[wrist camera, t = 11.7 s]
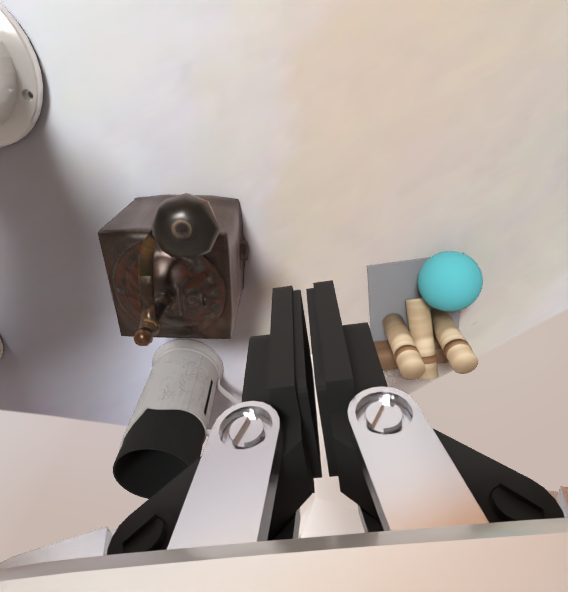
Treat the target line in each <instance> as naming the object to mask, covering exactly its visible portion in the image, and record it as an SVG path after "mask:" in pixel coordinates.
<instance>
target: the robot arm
mask: <svg viewBox="0 0 568 592" xmlns="http://www.w3.org/2000/svg"><path fill="white" fill-rule="evenodd" d="M31 93H32V94H33V97H32V95H31ZM42 103H43V82H42V75H41V70H40V67H39V63H38V60H37V57H36V54H35V52H34V50H33V48H32V46H31V44H30V42H29V40H28V38H27V36H26V34H25V33H24V31H23V30H22V28H21V27H20V25H19V24H18V22H17V21H16V20H15V19H14V17H13V16H12V15H11V14H10V13H9V12H8V11H7V9H6V8H5V7H4V6H3V5H2V4H1V3H0V147H4V146H7V145H10V144H13V143H15V142H17V141H19V140H20V139H22V138H23V137H25V136H26V135H27V134H28V133H29V132H30V131H31V129H32V128H33V127H34V126H35V124H36V122H37V120H38V118H39V116H40V112H41V108H42ZM313 284H314V288H310V289H306V291H307V302H308V313H309V324H310V335H311V346H312V357H313V368H314V377H313V368H312V361H311V355H310V348H309V342H308V335H307V329H306V322H305V316H304V310H303V303H302V297H301V291H300V290H295V291H293V287H292V286H287V287H280V288H273V293H272V311H271V329H270V335H262V336H254V337H250V340H249V347H248V355H247V363H246V370H245V378H244V386H243V394H242V402H241V403H239V404H236V405H233V406H232V407H230V408H228V409H227V410H225V411H224V412H223V413H222V414H221V415H220V416H219V417H218V418H217V420H216V422H215V423H214V425H213V427H212V430H211V433H210V435H209V438H208V441H207V443H206V446H205V449H204V451H203V454H202V456H201V457H200V458H198V459H197V460H196V461H195V462H194V463H192V464H191V465H190V466H189V467H187V468H186V469H185V470H184V471H183V472H181V473H180V474H179V475H178V476H177V477H175V478H174V479H173V480H172V481H170V482H169V483H168V484H167V485H166V486H164V487H163V488H162V489H161V490H160V491H158V492H157V493H156V494H155V495H153V496H152V497H151V498H150V499H149V500H147V501H146V502H145V503H144V504H143V505H141V506H140V507H139V508H138V509H137V510H135V511H134V512H133V513H132V514H130V515H129V516H128V517H127V518H126V519H125V521H123V522H122V524H120V525H119V527H118V528H117V529H116V530H113V531H110V530H109V529H108V527H104V528H101V529H98V530H95V531H92V532H89V533H85V534H82V535H79V536H76V537H73V538H70V539H66V540H63V541H60V542H57V543H54V544H51V545H48V546H45V547H42V548H38V549H35V550H32V551H29V552H26V553H22V554H19V555H16V556H14V557H11V558H9V559H7V560H5V561H3V562H1V563H0V592H568V487H562V486H561V487H560V489H559V492H554V491H547V490H546V489H545V488H544V487H542V486H541V485H539V484H538V483H536V482H534V481H533V480H531V479H530V478H528V477H526V476H524V475H522V474H520V473H518V472H516V471H514V470H512V469H510V468H508V467H506V466H504V465H503V464H501V463H499V462H497V461H495V460H493V459H491V458H489V457H487V456H485V455H483V454H481V453H479V452H477V451H475V450H474V449H472V448H469V447H468V446H466V445H464V444H462V443H460V442H458V441H456V440H454V439H452V438H450V437H448V436H446V435H444V434H442V433H441V432H439V431H437V430H435V429H433V428H432V427H431V425H430V424H429V422H428V420H427V419H426V417H425V415H424V413H423V412H422V410H421V409H420V407H419V406H418V404H417V402H416V401H415V400H414V399H413V398H412V397H411V396H410V395H408V394H407V393H405V392H403V391H401V390H398V389H395V388H391V387H388V386H387V383H386V380H385V376H384V373H383V370H382V367H381V364H380V360H379V357H378V354H377V351H376V347H375V344H374V341H373V338H372V335H371V331H370V328H369V325H368V323H367V322H366V323H358V324H350V325H342V322H341V317H340V313H339V308H338V303H337V299H336V294H335V289H334V284H333V280H332V281H324V282H317V283H313ZM314 378H315V387H316V394H317V400H318V407H319V413H320V420H321V426H322V433H323V439H324V446H325V452H326V459H327V465H328V471H329V477H334V476H338V478H339V486H340V492H342V493H343V494H344V495H346V496H347V497H348V498H350V499H351V500H352V501H354V502H355V503H356V504H357V506H358V512H359V516H360V519H361V522H362V525H363V528H364V531H365V533H357V534H345V535H332V536H320V537H308V538H298V536H299V528H300V519H301V517H300V507H301V506H302V505H303V503H304V502H305V501H306V500H307V499H308V498H309V497H310V496H311V495H312V493H315V487H314V478H322V468H321V457H320V445H319V434H318V423H317V411H316V400H315V388H314Z"/></svg>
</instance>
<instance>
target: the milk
mask: <svg viewBox="0 0 568 592" xmlns="http://www.w3.org/2000/svg"><path fill="white" fill-rule="evenodd" d="M310 355H311V361H312V368H313V357H312V354H310ZM313 377H314V368H313ZM314 388H315V400H316V411H317V423H318V434H319V445H320V457H321V468H322V478H314V487H315V493H312V495H311V496H310V497H309V498H308V499H307V500H306V501H305V502H304V503H303V505H302V506H301V507H300V517H301V519H300V528H299V536H298V538H308V537H320V536H332V535H345V534H357V533H365V531H364V528H363V525H362V522H361V519H360V516H359V512H358V506H357V504H356V503H355V502H354V501H352V500H351V499H350V498H348V497H347V496H346V495H344V494H343V493H342V492H340V486H339V478H338V476H334V477H329V471H328V465H327V459H326V452H325V446H324V439H323V433H322V426H321V420H320V413H319V407H318V400H317V394H316V387H315V378H314Z"/></svg>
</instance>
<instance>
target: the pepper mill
mask: <svg viewBox="0 0 568 592" xmlns="http://www.w3.org/2000/svg"><path fill="white" fill-rule="evenodd" d="M98 236H99V240H100V245H101V249H102V253H103V257H104V262H105V266H106V270H107V275H108V279H109V283H110V288H111V294H112V298H113V302H114V305H115V309H116V313H117V318H118V323H119V327H120V332H121V336H134V341H135V343H136V344H137V345H139V346H147V345H148V344H150V343H151V342H152V340H153V337H166V338H204V339H230V338H231V337H232V335H233V332H234V327H235V322H236V317H237V311H238V306H239V301H240V296H241V291H242V290H243V288H244V266H245V260H247V259H248V244H247V241H245V239H244V237H243V227H242V215H241V211H240V206H239V201H238V199H233V198H226V197H218V196H204V195H191V194H188V193H186V194H182V195H158V196H150V197H142V198H135V199H134V201H132V202H131V203H130V204H129V205H128V206H127V207H126V208H124V209H123V210H122V211H121V212H120V213H119V214H118V215H116V216H115V217H114V218H113V219H112V220H111V221H110V222H108V223H107V224H106V225H105V226H104V227H103V228H102V229H101V230H100V231H99V232H98Z"/></svg>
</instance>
